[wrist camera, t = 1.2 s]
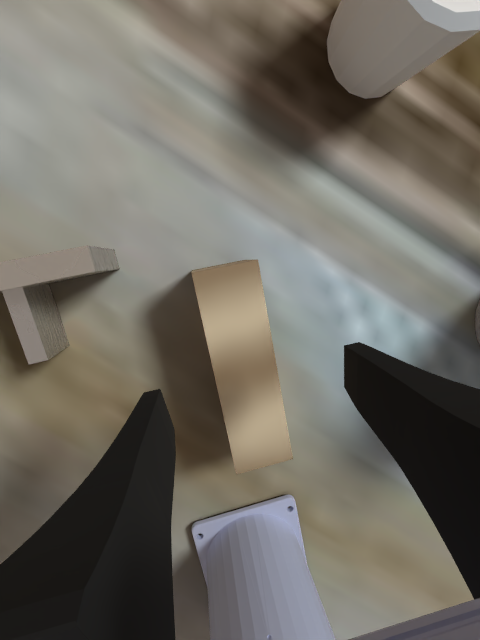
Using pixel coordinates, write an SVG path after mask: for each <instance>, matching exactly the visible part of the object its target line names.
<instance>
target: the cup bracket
mask: <svg viewBox="0 0 480 640" xmlns="http://www.w3.org/2000/svg"><path fill="white" fill-rule="evenodd" d="M117 269H120V268H119V265H118V261H117V258H116V254H115V250H114V249H108V248H101V247H95V246H88V245H87V246H82V247H77V248H71V249H66V250H61V251H56V252H51V253H45V254H40V255H35V256H30V257H25V258H19V259H14V260H9V261H4V262H0V293H3V296H4V298H5V301H6V304H7V307H8V309H9V312H10V315H11V318H12V320H13V323H14V326H15V328H16V331H17V334H18V337H19V339H20V342H21V345H22V348H23V350H24V353H25V356H26V359H27V361H28V364H33V363H37V362H42V361H46V360H49V359H50V358H52V357H53V356H55V355H56V354H58V353H59V352H61V351H62V350H64V349H65V348H66V347H68V346H69V343H68V340H67V337H66V334H65V331H64V328H63V325H62V322H61V319H60V316H59V313H58V310H57V307H56V304H55V301H54V298H53V295H52V292H51V289H50V286H49V283H53V282H58V281H63V280H68V279H73V278H78V277H83V276H88V275H92V274H97V273H102V272H107V271H112V270H117Z"/></svg>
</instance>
